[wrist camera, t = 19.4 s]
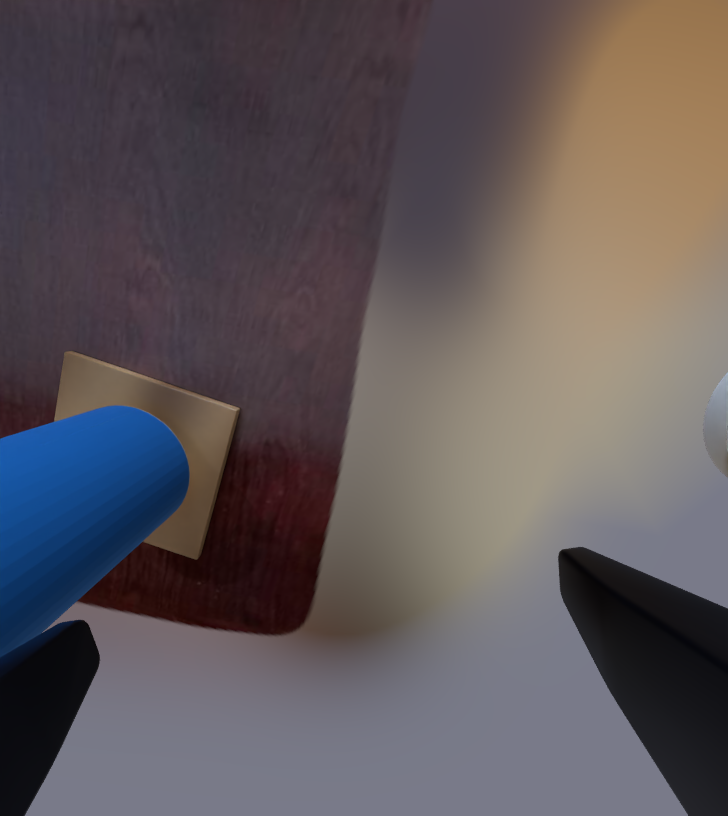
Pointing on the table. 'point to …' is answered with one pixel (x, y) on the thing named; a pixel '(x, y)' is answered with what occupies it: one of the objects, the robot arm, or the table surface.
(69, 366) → the mat
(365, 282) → the table surface
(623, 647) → the robot arm
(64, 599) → the beverage can
